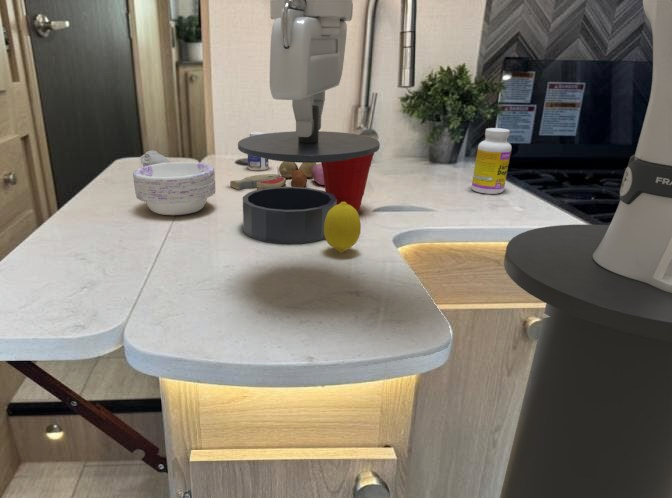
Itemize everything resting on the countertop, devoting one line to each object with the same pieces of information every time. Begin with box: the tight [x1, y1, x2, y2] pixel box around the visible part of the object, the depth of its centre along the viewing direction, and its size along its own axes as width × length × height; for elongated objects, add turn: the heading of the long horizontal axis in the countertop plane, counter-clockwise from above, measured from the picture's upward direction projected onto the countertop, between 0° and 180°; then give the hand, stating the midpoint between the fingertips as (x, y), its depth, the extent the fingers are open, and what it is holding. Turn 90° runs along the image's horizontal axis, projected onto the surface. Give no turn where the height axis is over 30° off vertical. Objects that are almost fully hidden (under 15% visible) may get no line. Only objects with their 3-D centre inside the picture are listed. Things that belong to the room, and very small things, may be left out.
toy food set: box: [229, 161, 325, 191], centre depth 124 cm, size 26×16×4 cm, turn 135°
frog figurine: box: [139, 149, 171, 167], centre depth 125 cm, size 6×7×7 cm
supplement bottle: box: [471, 127, 513, 195], centre depth 115 cm, size 7×7×13 cm
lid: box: [237, 105, 381, 164], centre depth 64 cm, size 17×17×5 cm
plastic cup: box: [320, 153, 375, 213], centre depth 101 cm, size 11×11×12 cm
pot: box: [242, 186, 337, 245], centre depth 94 cm, size 16×16×5 cm
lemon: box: [324, 202, 362, 254], centre depth 82 cm, size 6×6×8 cm
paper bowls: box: [132, 161, 216, 216], centre depth 104 cm, size 15×15×8 cm
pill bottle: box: [247, 131, 270, 171], centre depth 137 cm, size 5×5×9 cm
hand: (308, 133), depth 65 cm, fingers closed on lid, 2 cm apart
